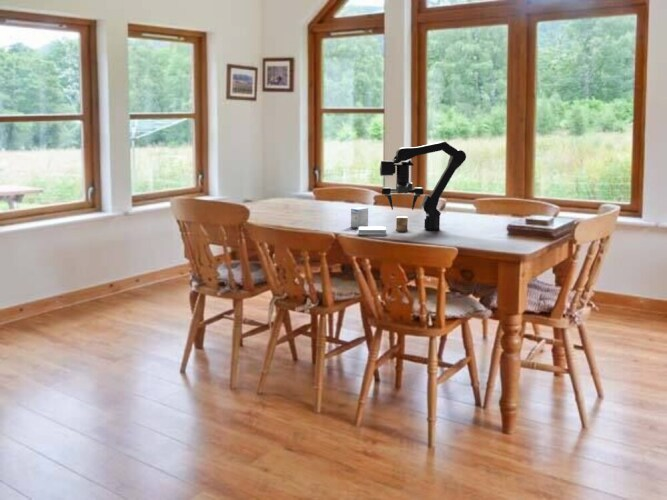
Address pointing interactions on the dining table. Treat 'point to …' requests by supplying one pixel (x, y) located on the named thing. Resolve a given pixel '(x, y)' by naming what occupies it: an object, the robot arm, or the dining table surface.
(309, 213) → the dining table surface
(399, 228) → the walnut block
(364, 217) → the medicine box
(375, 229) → the book
